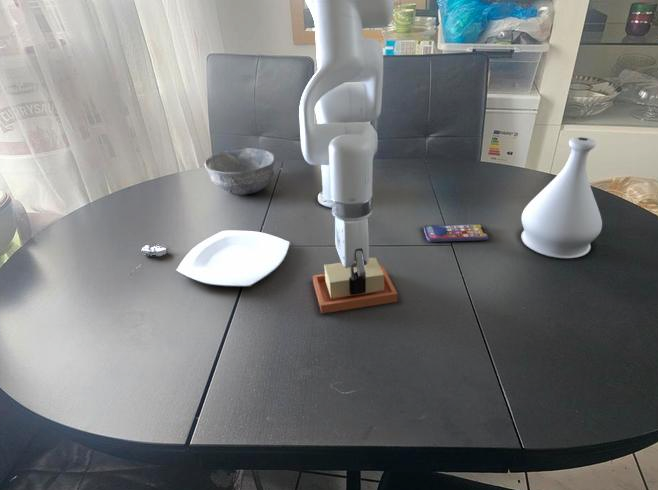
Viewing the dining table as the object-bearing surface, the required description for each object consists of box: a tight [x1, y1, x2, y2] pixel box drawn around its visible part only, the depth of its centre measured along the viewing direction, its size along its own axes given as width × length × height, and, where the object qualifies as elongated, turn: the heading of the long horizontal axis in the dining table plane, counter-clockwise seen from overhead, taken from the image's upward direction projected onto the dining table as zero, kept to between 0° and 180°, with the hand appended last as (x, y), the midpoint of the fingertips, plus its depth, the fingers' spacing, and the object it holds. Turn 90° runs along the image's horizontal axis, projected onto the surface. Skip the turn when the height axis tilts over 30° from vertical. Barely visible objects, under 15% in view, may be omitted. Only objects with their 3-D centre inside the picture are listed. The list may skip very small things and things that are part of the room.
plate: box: [176, 229, 291, 288], centre depth 104 cm, size 23×23×2 cm
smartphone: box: [423, 223, 489, 243], centre depth 112 cm, size 1×7×15 cm
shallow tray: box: [312, 265, 398, 314], centre depth 93 cm, size 11×16×2 cm
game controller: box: [130, 243, 168, 274], centre depth 105 cm, size 6×12×3 cm, turn 2°
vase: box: [520, 136, 603, 259], centre depth 101 cm, size 17×17×25 cm
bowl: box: [203, 147, 276, 195], centre depth 135 cm, size 21×21×10 cm
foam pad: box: [323, 257, 384, 299], centre depth 92 cm, size 6×11×4 cm, turn 102°
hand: (353, 282), depth 92 cm, fingers closed on foam pad, 6 cm apart
